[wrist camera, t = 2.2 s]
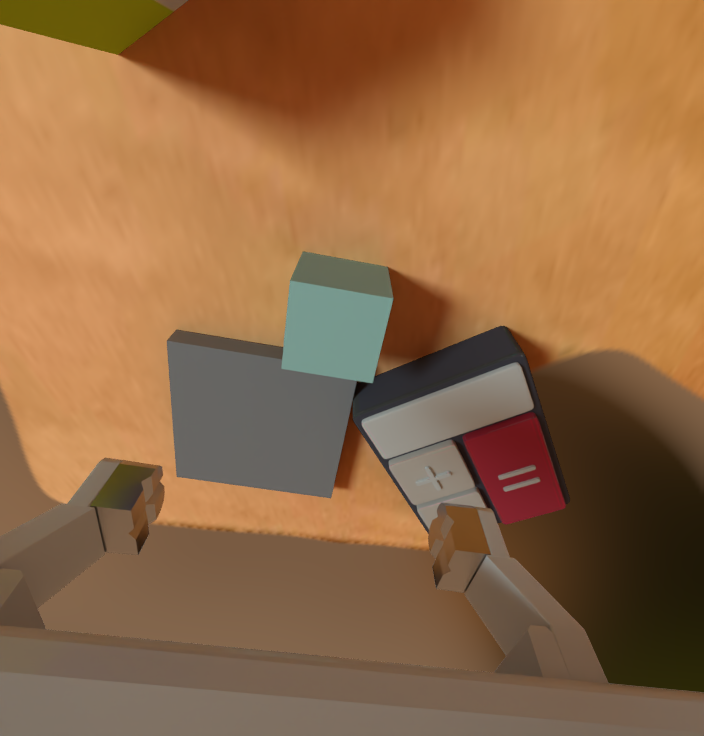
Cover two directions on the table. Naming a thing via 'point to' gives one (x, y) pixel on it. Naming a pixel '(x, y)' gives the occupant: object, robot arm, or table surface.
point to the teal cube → (336, 317)
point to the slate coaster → (254, 416)
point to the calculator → (464, 431)
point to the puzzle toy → (88, 20)
